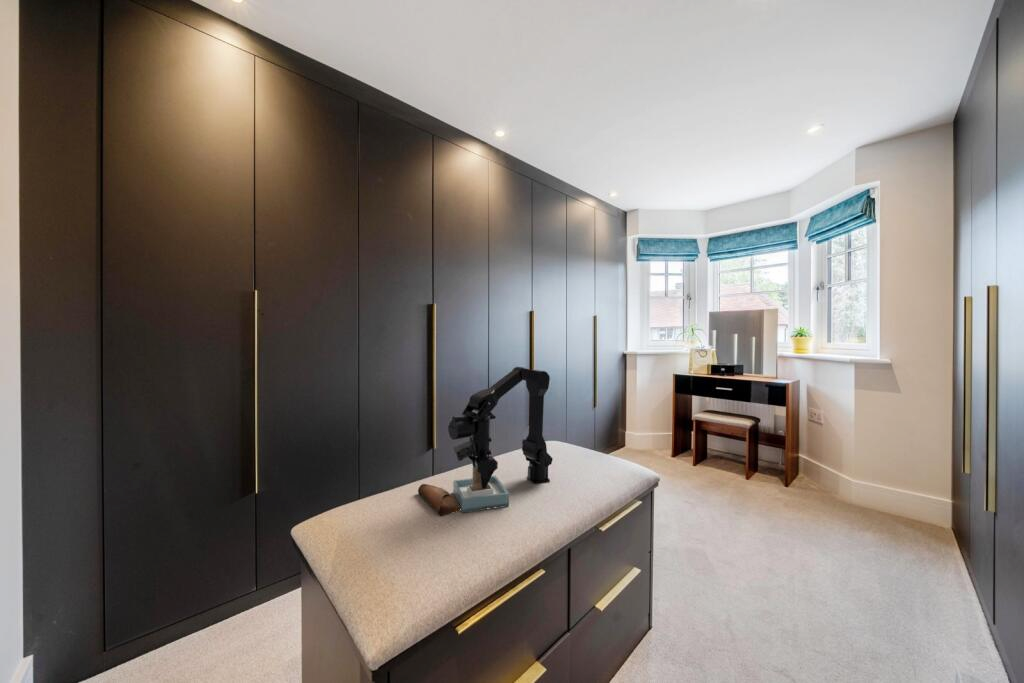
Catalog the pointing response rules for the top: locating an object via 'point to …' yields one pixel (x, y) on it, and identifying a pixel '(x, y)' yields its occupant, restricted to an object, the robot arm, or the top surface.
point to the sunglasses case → (439, 499)
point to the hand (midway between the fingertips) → (480, 482)
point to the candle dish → (480, 495)
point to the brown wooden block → (477, 481)
